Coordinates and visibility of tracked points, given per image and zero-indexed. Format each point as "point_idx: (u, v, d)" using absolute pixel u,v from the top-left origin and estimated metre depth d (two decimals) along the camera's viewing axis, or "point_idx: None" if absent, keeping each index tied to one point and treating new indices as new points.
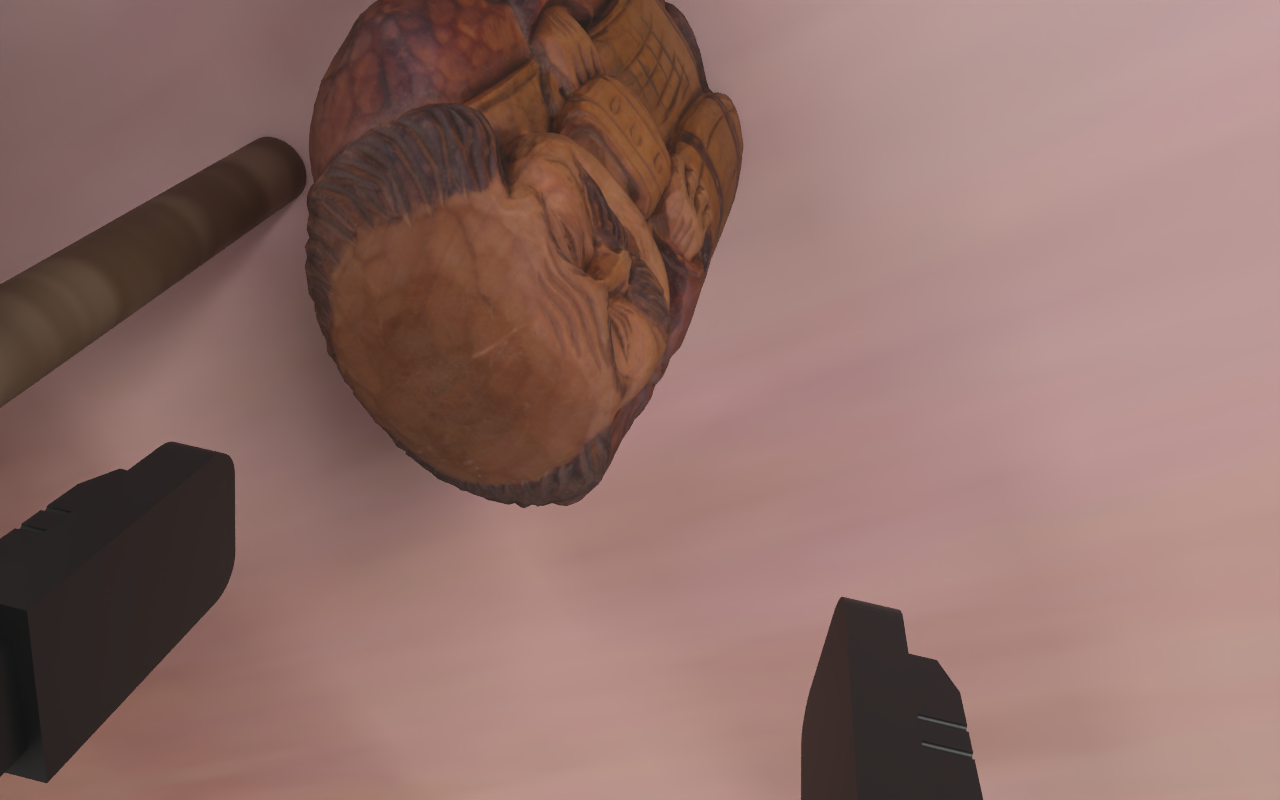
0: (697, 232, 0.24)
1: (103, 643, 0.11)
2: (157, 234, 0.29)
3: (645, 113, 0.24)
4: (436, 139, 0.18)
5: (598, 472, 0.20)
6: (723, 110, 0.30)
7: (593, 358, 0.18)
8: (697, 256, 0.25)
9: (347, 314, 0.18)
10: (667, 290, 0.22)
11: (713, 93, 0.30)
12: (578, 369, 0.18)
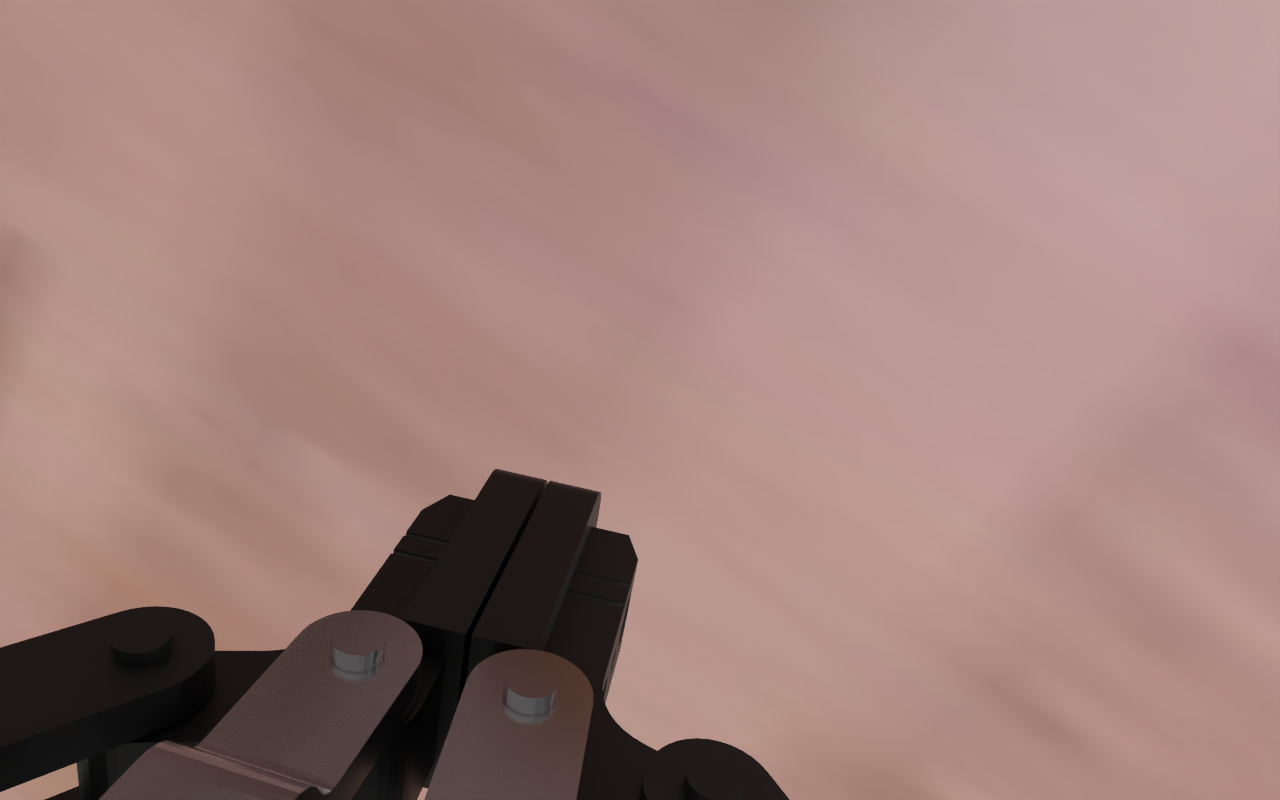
0: None
1: None
2: None
3: None
4: None
5: None
6: None
7: None
8: None
9: None
10: None
11: None
12: None
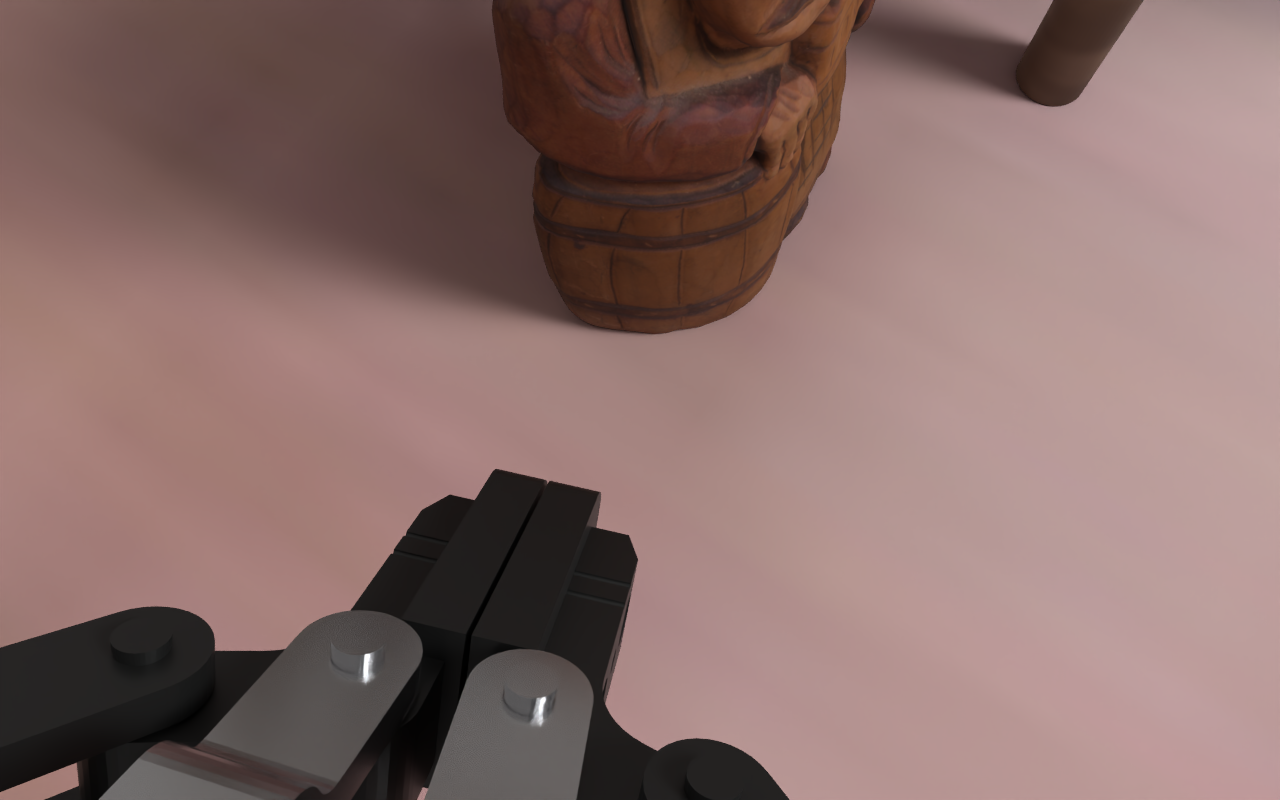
0: (786, 126, 0.23)
1: None
2: None
3: (839, 59, 0.25)
4: None
5: None
6: (778, 248, 0.30)
7: None
8: None
9: None
10: (794, 29, 0.20)
11: None
12: None
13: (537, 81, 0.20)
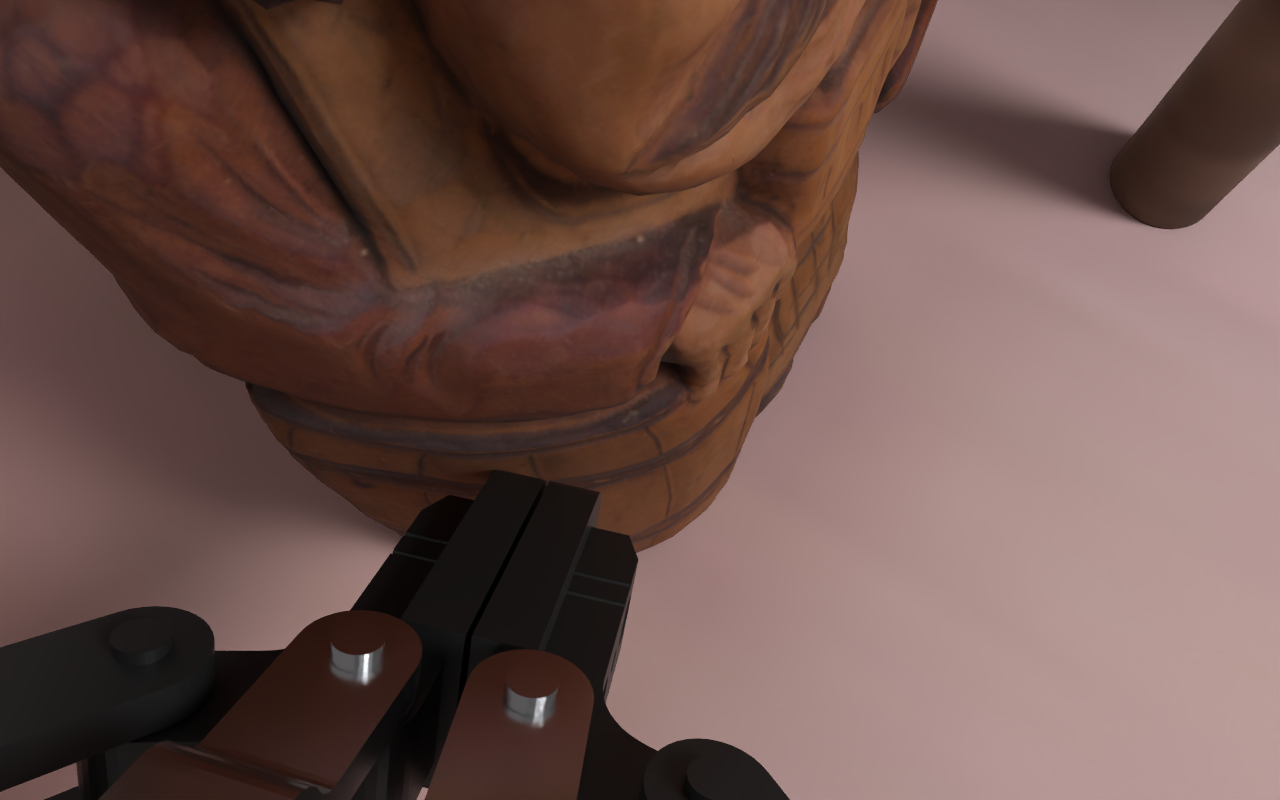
0: (726, 323, 0.11)
1: None
2: None
3: (842, 178, 0.13)
4: None
5: None
6: (736, 455, 0.18)
7: None
8: None
9: None
10: (727, 155, 0.08)
11: None
12: None
13: (112, 254, 0.09)
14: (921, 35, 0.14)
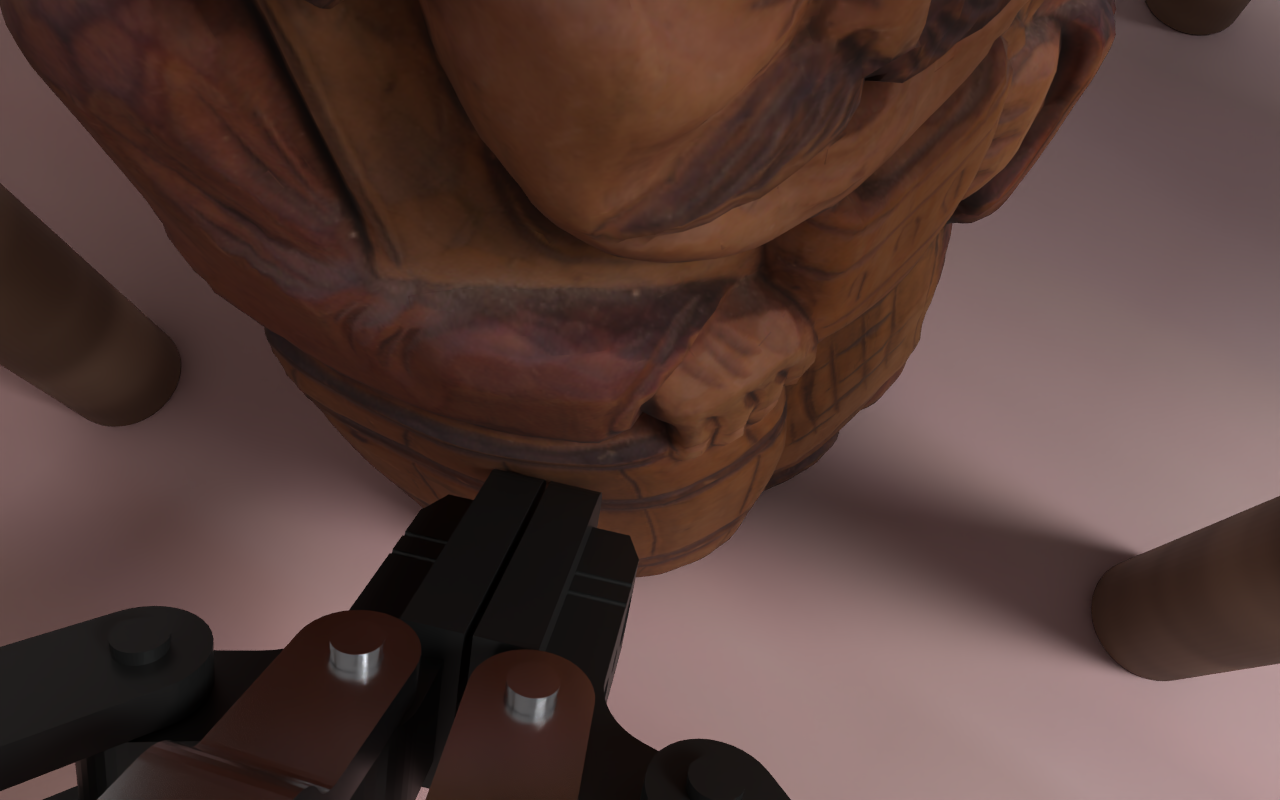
0: (713, 396, 0.11)
1: None
2: None
3: (892, 284, 0.13)
4: None
5: None
6: (741, 516, 0.18)
7: None
8: (635, 420, 0.12)
9: None
10: (715, 242, 0.08)
11: None
12: None
13: (126, 173, 0.09)
14: (1031, 159, 0.14)
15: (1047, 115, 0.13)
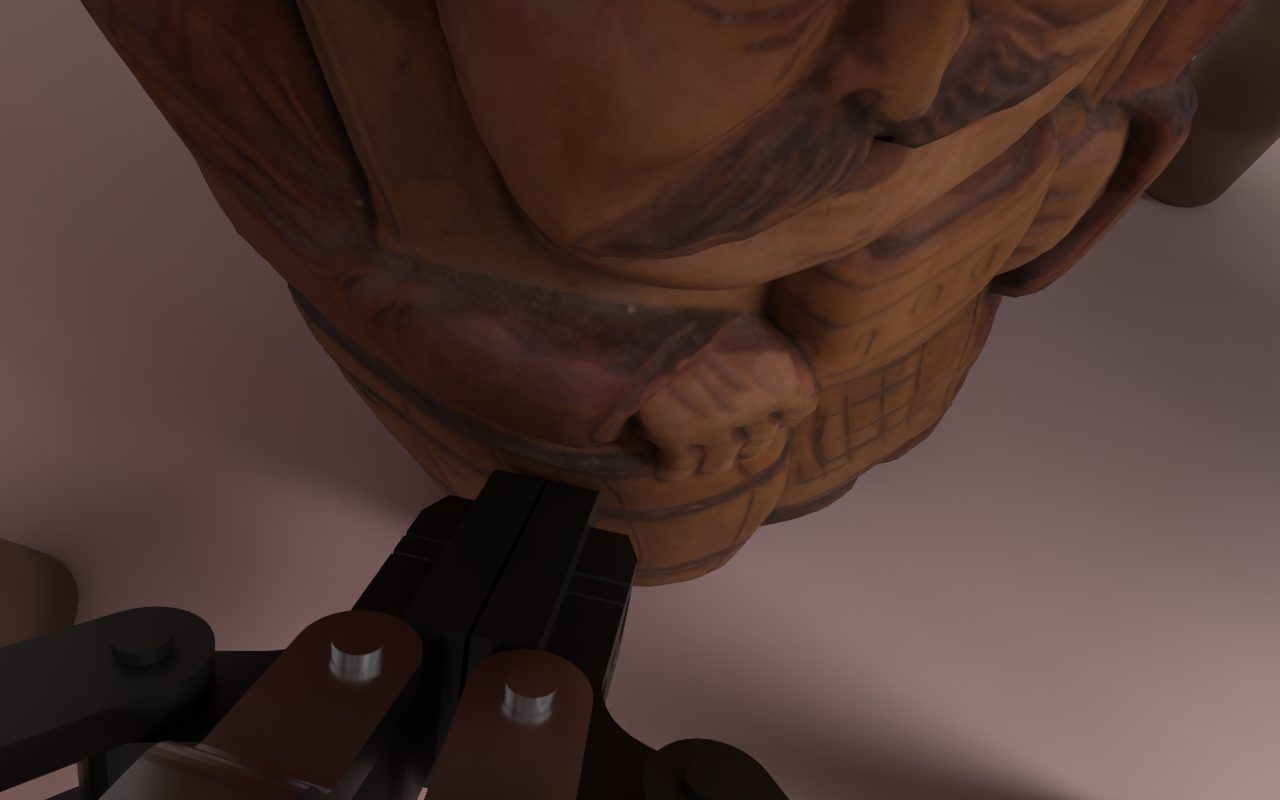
0: (698, 425, 0.11)
1: None
2: None
3: (910, 345, 0.12)
4: None
5: None
6: (735, 546, 0.18)
7: None
8: (620, 433, 0.12)
9: None
10: (700, 274, 0.08)
11: None
12: None
13: None
14: (1084, 244, 0.13)
15: (1107, 202, 0.13)
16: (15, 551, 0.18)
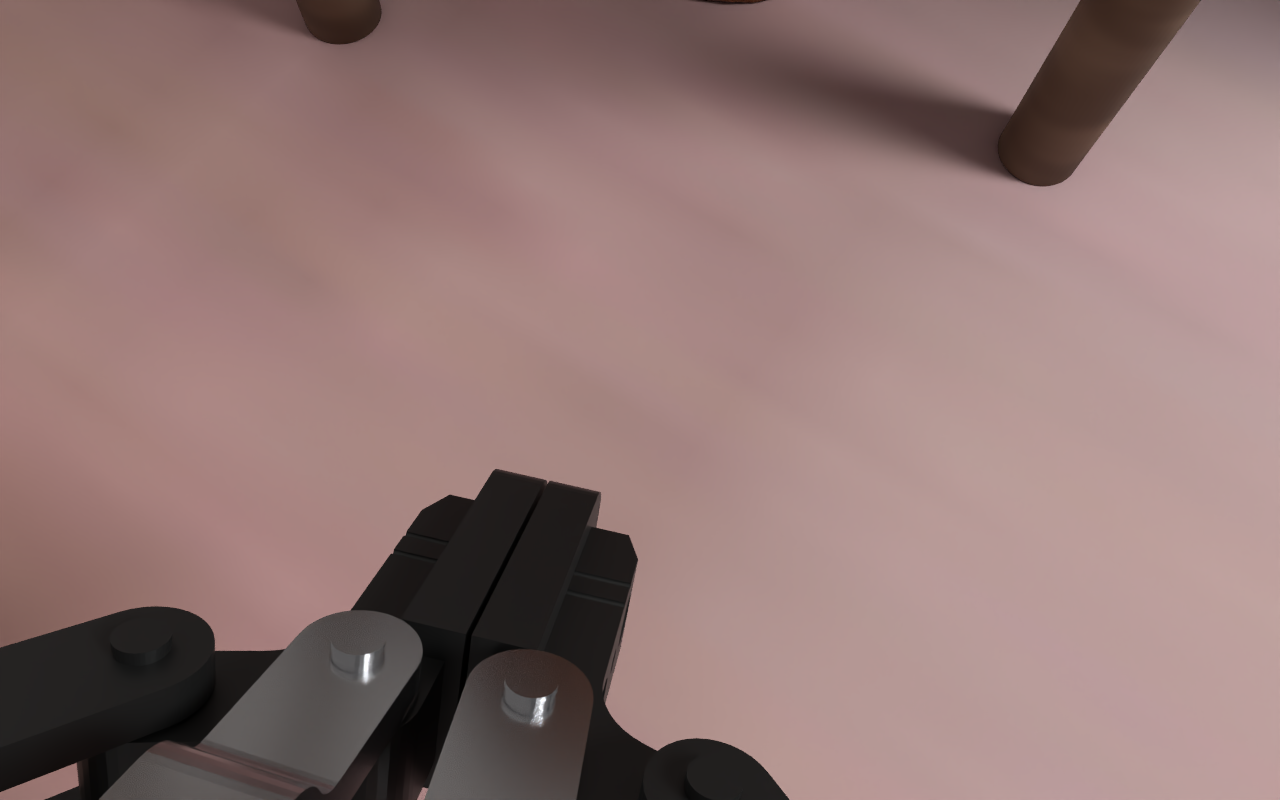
0: None
1: None
2: None
3: None
4: None
5: None
6: None
7: None
8: None
9: None
10: None
11: None
12: None
13: None
14: None
15: None
16: None
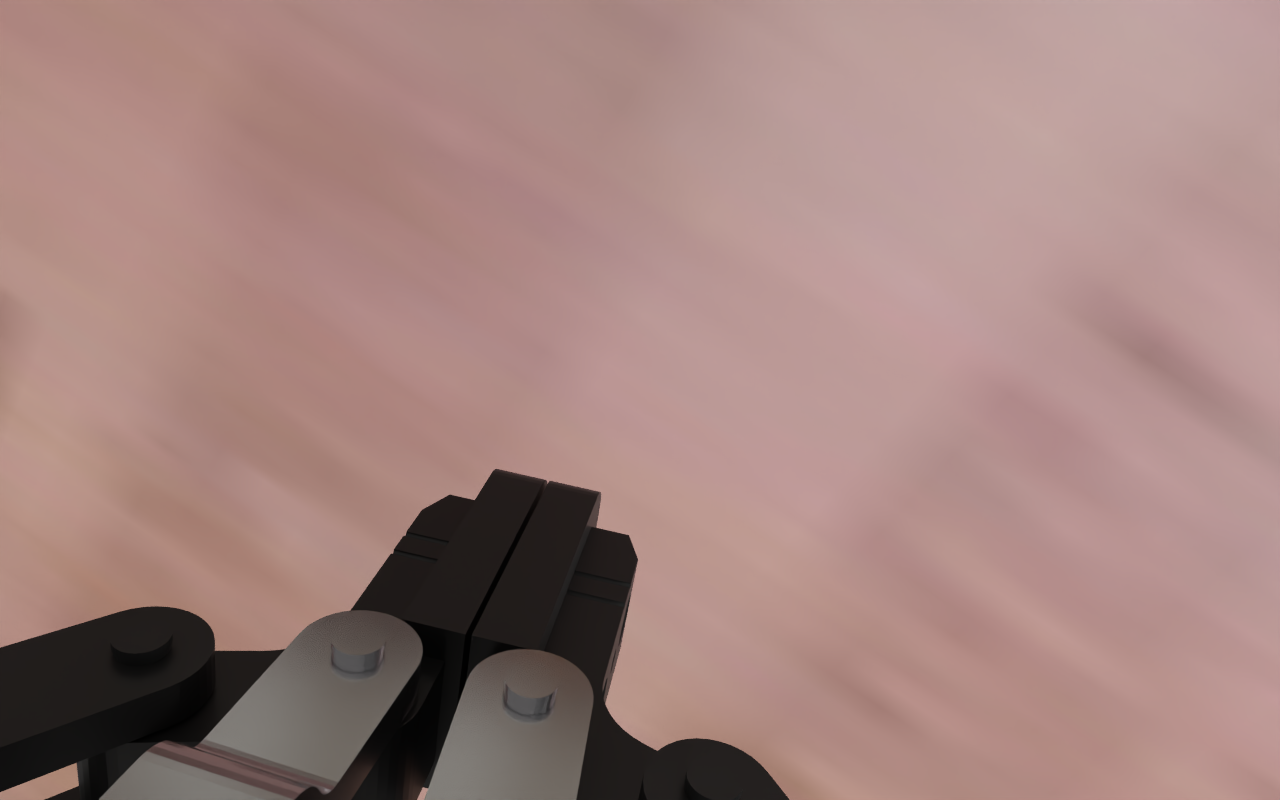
0: None
1: None
2: None
3: None
4: None
5: None
6: None
7: None
8: None
9: None
10: None
11: None
12: None
13: None
14: None
15: None
16: None
